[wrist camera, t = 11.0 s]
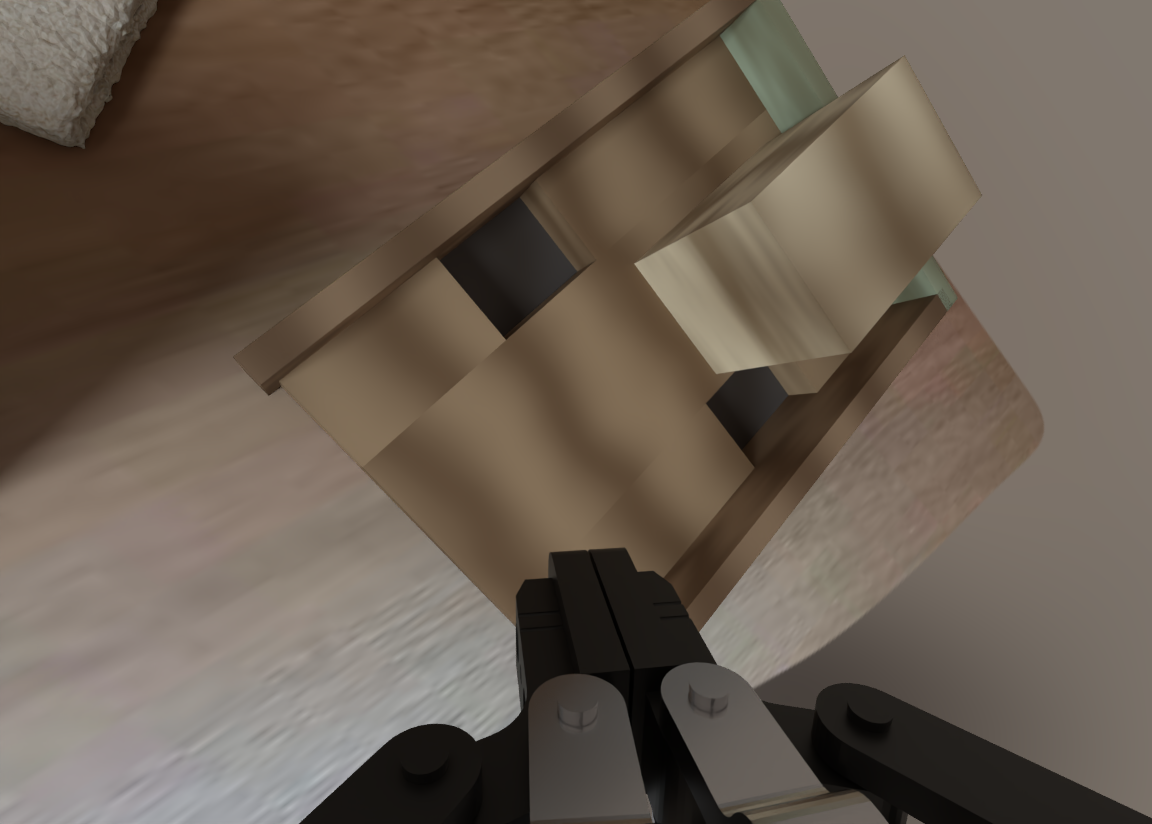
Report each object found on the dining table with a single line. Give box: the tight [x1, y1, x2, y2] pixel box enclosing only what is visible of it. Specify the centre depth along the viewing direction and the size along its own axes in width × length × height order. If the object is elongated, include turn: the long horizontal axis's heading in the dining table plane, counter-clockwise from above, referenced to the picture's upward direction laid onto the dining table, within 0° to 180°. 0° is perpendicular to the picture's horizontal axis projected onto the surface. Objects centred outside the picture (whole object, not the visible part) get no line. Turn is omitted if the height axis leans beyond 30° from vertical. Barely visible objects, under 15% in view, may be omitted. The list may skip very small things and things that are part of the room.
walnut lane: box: [233, 0, 957, 632], centre depth 30 cm, size 30×20×6 cm
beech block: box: [634, 56, 982, 374], centre depth 29 cm, size 11×7×8 cm, turn 132°
